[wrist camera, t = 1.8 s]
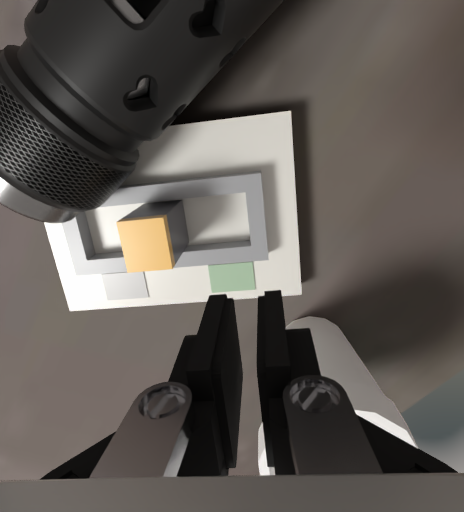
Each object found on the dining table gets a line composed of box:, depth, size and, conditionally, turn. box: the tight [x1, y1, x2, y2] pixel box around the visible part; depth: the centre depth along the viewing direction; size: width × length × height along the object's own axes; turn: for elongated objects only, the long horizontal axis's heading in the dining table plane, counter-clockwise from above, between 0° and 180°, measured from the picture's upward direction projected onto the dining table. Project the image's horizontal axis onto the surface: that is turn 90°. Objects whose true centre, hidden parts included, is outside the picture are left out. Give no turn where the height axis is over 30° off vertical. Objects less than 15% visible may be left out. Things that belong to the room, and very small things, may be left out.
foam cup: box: [258, 316, 419, 475], centre depth 28 cm, size 10×9×13 cm
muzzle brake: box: [0, 0, 284, 223], centre depth 21 cm, size 10×28×10 cm, turn 134°
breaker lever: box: [116, 200, 189, 273], centre depth 26 cm, size 3×3×6 cm
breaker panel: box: [44, 111, 302, 311], centre depth 29 cm, size 20×14×4 cm
